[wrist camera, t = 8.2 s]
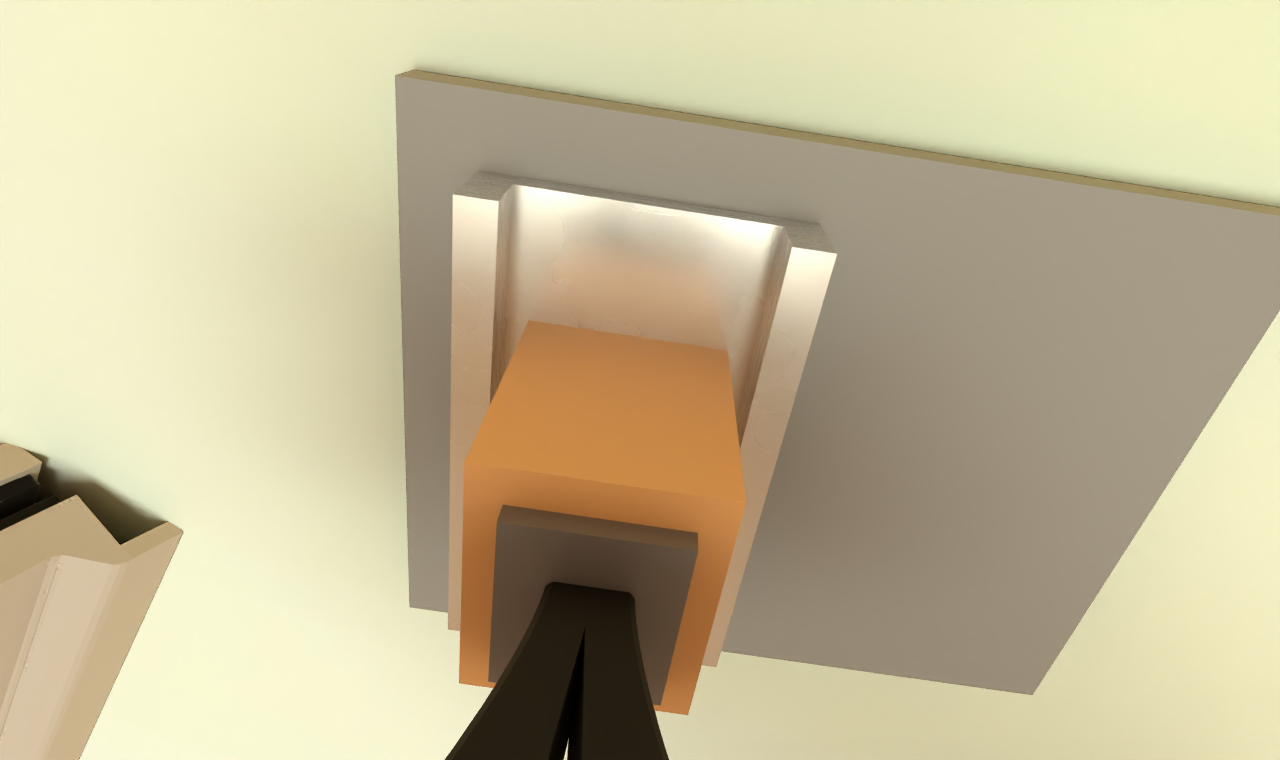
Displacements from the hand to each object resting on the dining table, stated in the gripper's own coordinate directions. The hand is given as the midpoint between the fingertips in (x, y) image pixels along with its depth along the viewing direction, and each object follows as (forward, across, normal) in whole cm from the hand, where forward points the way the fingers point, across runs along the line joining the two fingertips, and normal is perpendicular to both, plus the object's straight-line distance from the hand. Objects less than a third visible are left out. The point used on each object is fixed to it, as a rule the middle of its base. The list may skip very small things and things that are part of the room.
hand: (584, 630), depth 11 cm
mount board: (+7, -4, 0) cm, 8 cm away
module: (+5, 0, 0) cm, 5 cm away
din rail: (+7, 0, 0) cm, 7 cm away
